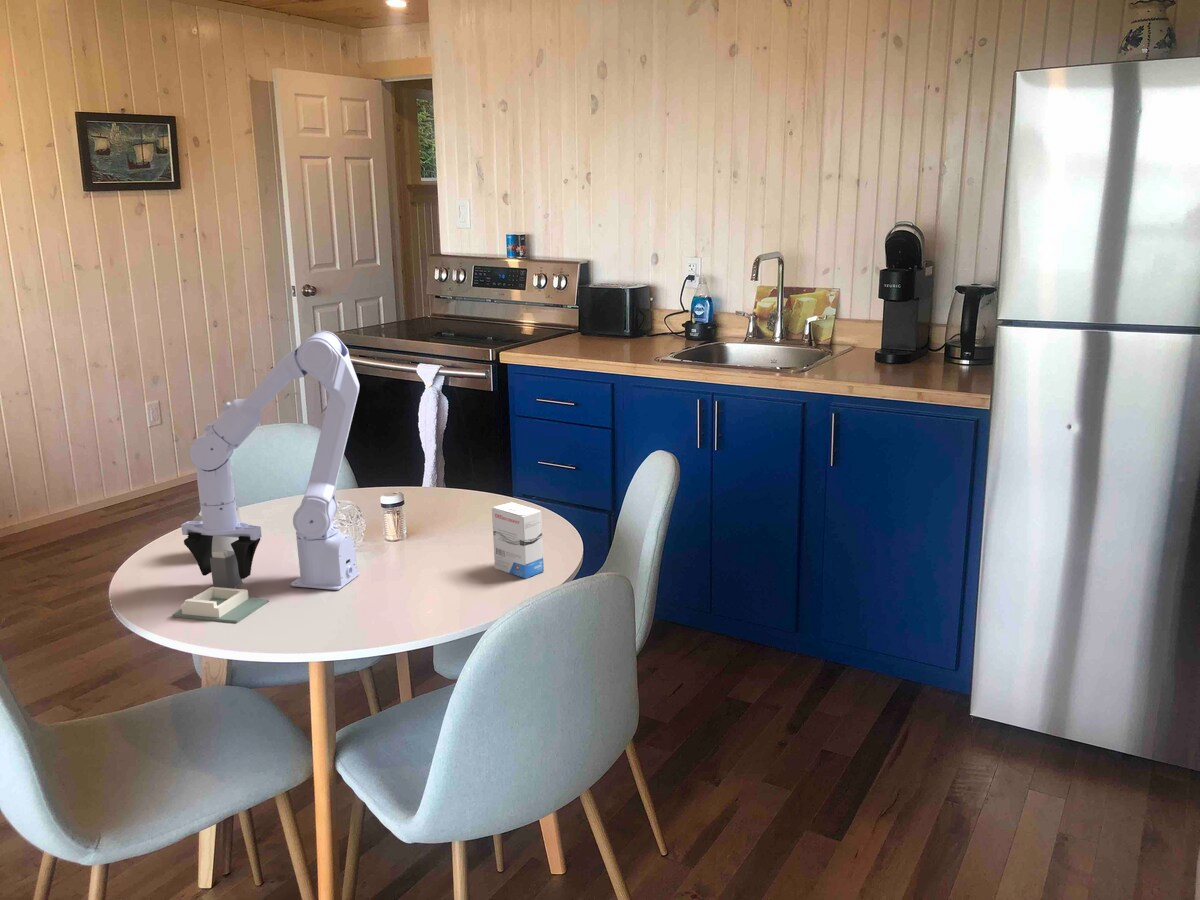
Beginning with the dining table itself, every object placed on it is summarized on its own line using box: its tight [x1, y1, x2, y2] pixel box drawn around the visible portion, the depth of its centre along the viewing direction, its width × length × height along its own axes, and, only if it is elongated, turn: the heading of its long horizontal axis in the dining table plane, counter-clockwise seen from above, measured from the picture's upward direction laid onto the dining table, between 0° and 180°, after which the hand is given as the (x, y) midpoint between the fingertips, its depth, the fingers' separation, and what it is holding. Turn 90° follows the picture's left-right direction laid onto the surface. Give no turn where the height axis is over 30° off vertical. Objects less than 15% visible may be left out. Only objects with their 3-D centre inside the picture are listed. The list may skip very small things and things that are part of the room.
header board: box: [171, 586, 269, 624], centre depth 161 cm, size 12×9×3 cm
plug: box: [210, 550, 243, 589], centre depth 170 cm, size 3×4×7 cm
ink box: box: [491, 501, 545, 579], centre depth 175 cm, size 8×5×12 cm, turn 47°
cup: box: [192, 506, 242, 557], centre depth 186 cm, size 7×10×9 cm
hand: (226, 575), depth 170 cm, fingers open, 7 cm apart
